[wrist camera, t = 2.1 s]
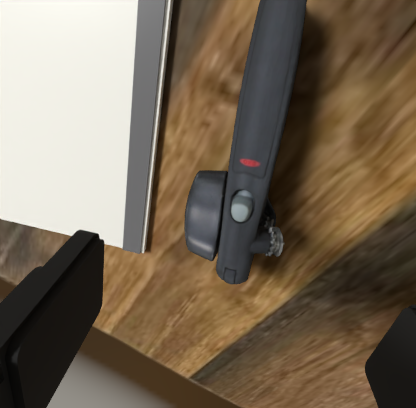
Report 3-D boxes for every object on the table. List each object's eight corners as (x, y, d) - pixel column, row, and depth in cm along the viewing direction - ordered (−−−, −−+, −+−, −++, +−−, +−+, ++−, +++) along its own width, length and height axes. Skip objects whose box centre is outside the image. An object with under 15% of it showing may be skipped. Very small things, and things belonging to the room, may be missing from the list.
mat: (178, -47, 16) (174, -51, 15) (145, 248, 25) (142, 254, 25) (-210, -129, 16) (-230, -137, 16) (-98, 190, 26) (-108, 194, 25)
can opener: (265, 256, 24) (268, 309, 19) (183, 237, 25) (165, 285, 20) (354, 0, 16) (400, -21, 11) (227, -25, 16) (216, -57, 11)
